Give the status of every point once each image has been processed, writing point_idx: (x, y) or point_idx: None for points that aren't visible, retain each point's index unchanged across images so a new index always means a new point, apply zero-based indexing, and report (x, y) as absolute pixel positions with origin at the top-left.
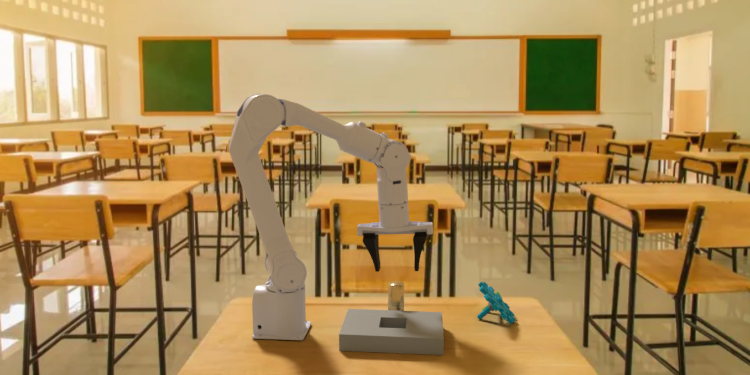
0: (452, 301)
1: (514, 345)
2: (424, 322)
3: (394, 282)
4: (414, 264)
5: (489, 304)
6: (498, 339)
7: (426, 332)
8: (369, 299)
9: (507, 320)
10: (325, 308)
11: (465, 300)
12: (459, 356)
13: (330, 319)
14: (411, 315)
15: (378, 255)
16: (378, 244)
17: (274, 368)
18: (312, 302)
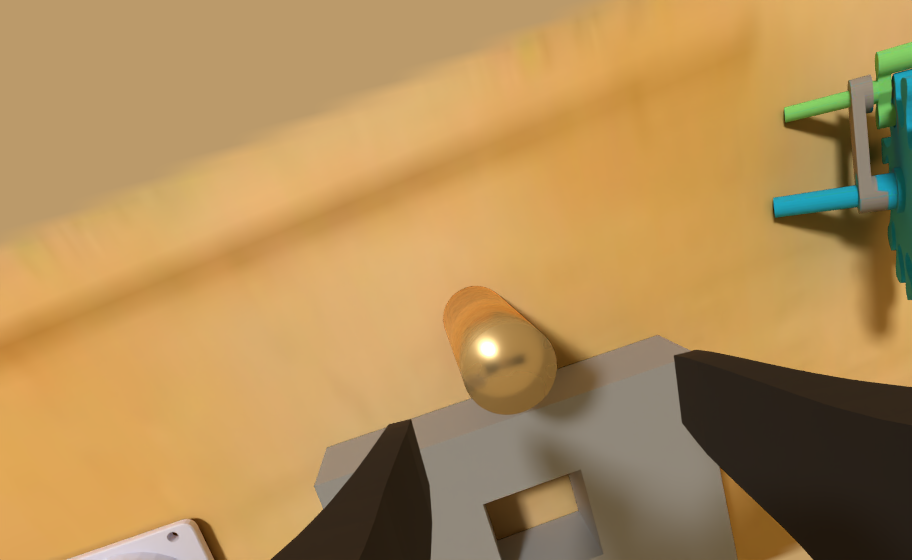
0: (649, 41)
1: (881, 374)
2: (653, 477)
3: (493, 351)
4: (722, 467)
5: (874, 203)
6: (838, 351)
7: (678, 551)
8: (282, 161)
9: (894, 249)
10: (148, 347)
11: (700, 5)
12: (740, 509)
13: (238, 441)
14: (590, 436)
15: (402, 513)
16: (370, 543)
17: None
18: (41, 306)
